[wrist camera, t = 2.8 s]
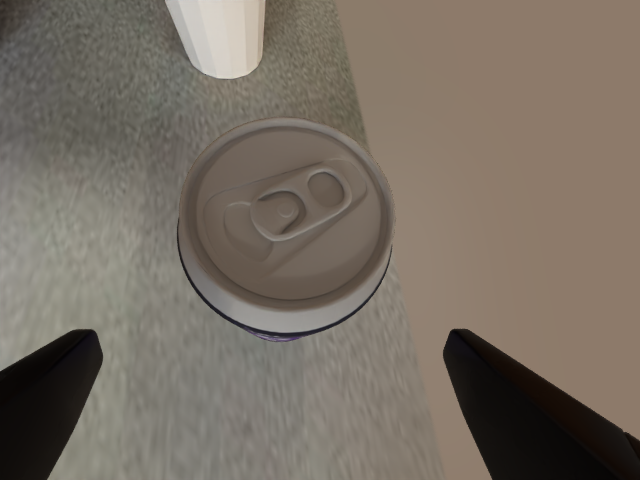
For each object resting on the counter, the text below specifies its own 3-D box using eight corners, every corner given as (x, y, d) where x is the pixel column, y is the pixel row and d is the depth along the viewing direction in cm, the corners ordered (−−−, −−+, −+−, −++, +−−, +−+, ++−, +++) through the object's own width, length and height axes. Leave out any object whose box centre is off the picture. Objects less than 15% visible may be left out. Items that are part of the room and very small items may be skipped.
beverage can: (215, 275, 18) (115, 156, 7) (298, 230, 20) (329, 75, 8) (262, 362, 17) (237, 396, 6) (346, 307, 18) (459, 248, 7)
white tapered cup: (236, 7, 25) (223, -112, 19) (288, 62, 24) (293, -44, 17) (159, 38, 23) (113, -85, 16) (211, 100, 22) (185, -6, 15)
